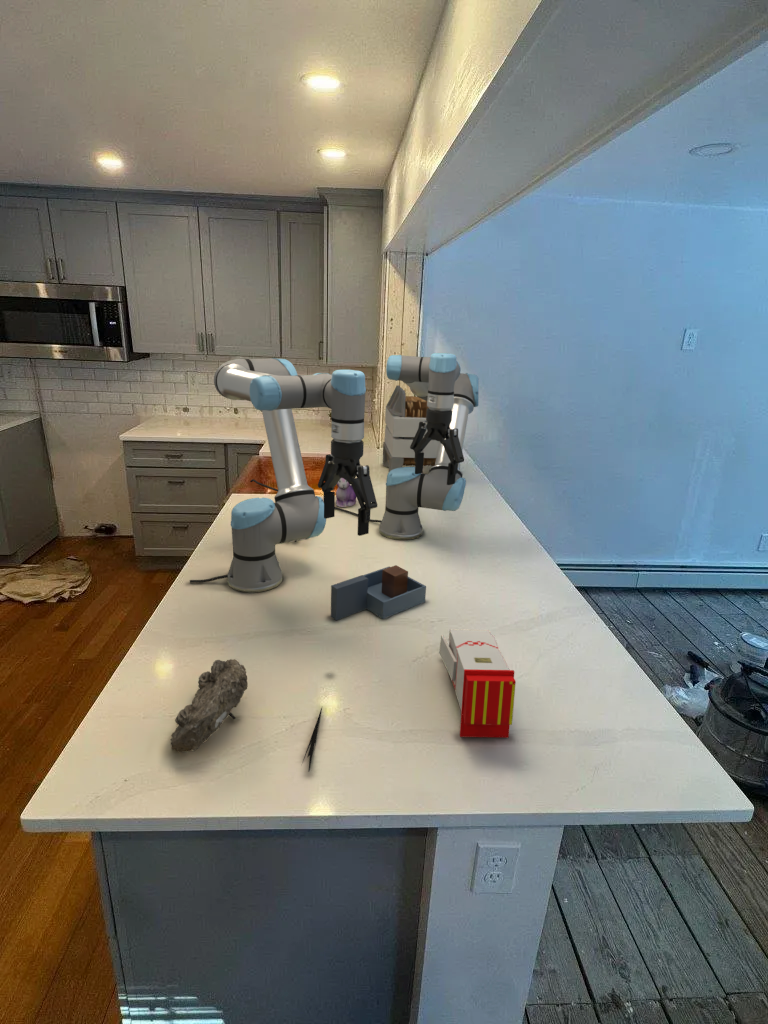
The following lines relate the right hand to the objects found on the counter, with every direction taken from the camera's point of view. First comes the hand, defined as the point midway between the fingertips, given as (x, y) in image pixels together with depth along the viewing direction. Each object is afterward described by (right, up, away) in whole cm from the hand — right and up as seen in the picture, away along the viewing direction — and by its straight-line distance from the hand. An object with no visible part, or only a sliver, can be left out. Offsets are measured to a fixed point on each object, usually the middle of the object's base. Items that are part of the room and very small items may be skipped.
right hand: (434, 478), depth 172 cm
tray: (-19, -35, -20) cm, 44 cm away
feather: (-28, -50, -63) cm, 85 cm away
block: (-12, -33, -16) cm, 38 cm away
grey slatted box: (+2, +9, +103) cm, 103 cm away
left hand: (-25, -13, -34) cm, 44 cm away
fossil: (-47, -49, -64) cm, 93 cm away
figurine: (-31, -7, +55) cm, 64 cm away
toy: (+3, -48, -53) cm, 72 cm away
